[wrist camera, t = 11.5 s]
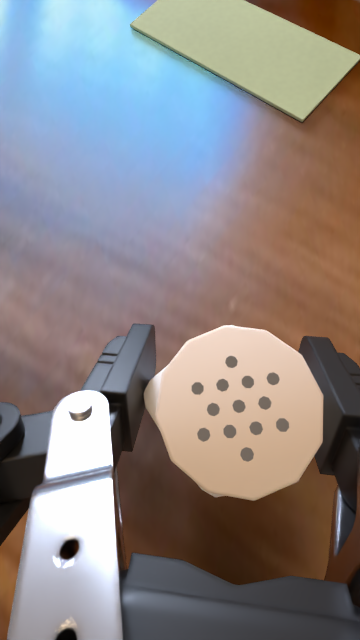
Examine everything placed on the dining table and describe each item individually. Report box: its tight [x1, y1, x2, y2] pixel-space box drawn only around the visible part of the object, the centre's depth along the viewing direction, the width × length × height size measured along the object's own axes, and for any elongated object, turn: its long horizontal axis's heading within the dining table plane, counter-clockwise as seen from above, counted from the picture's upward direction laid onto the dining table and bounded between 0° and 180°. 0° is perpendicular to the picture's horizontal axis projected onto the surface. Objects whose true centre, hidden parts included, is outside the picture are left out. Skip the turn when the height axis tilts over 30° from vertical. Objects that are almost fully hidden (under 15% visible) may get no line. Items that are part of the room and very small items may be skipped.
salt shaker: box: [143, 325, 323, 501], centre depth 10 cm, size 4×4×10 cm
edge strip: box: [130, 0, 360, 122], centre depth 22 cm, size 16×7×1 cm, turn 49°
